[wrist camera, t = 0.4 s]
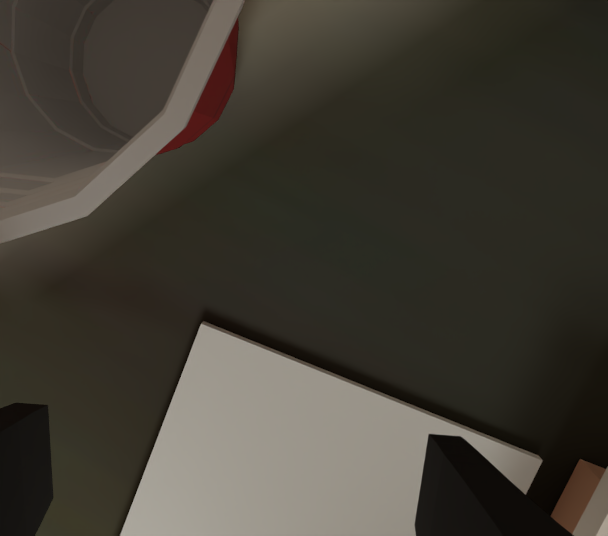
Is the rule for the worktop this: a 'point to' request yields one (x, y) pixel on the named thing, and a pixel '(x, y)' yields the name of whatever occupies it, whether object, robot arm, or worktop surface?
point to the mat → (290, 451)
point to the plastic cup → (102, 96)
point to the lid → (595, 512)
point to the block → (577, 494)
